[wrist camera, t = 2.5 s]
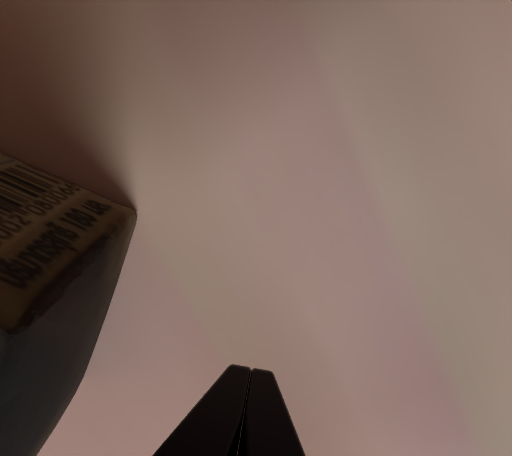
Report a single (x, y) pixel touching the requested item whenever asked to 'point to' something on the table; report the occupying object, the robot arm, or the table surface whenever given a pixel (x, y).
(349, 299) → the table surface
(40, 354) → the beverage carton
